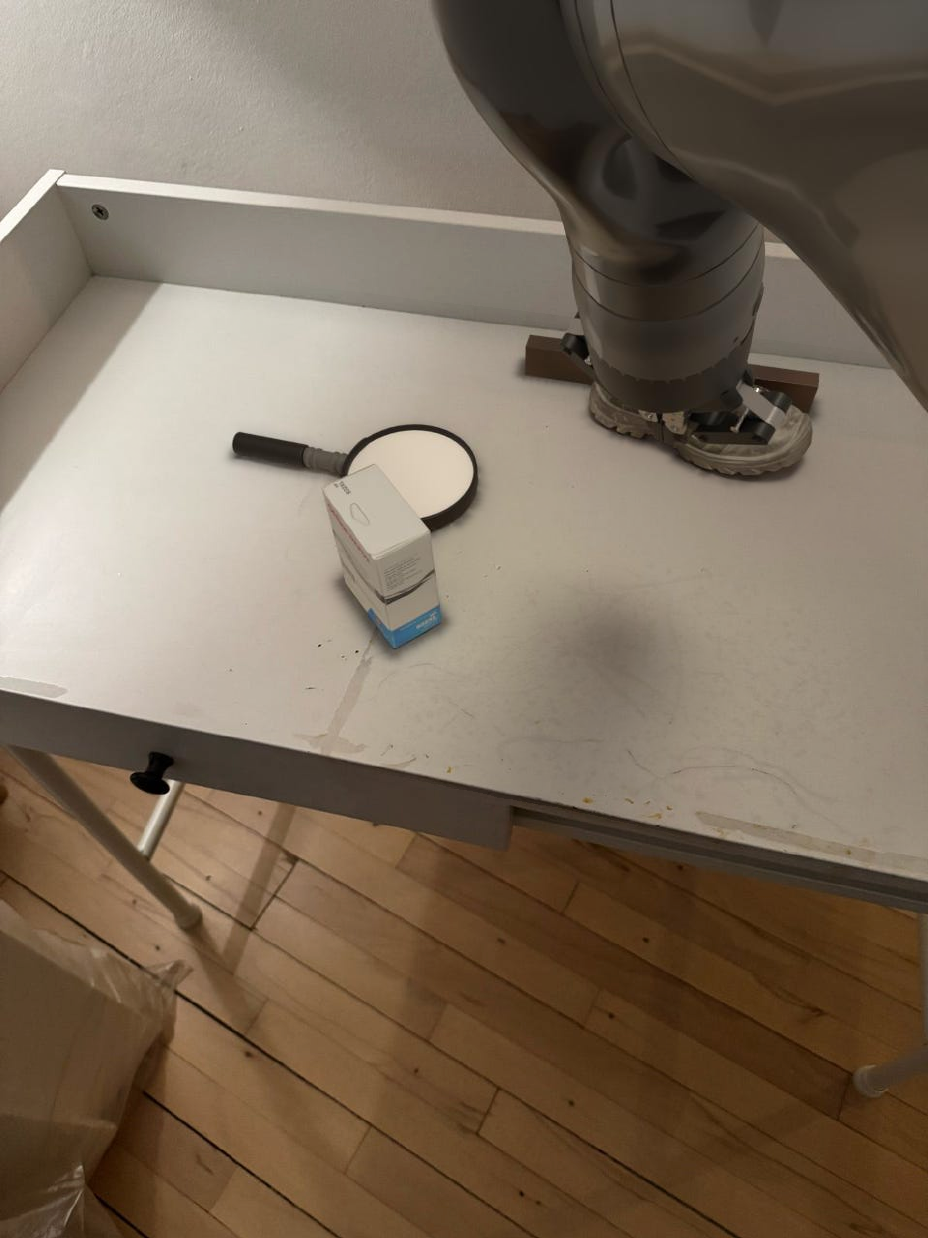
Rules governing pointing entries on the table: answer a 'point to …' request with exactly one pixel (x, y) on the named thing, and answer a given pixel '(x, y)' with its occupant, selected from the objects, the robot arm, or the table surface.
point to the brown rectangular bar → (555, 365)
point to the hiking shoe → (726, 458)
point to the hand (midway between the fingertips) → (673, 429)
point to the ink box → (384, 554)
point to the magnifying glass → (391, 465)
